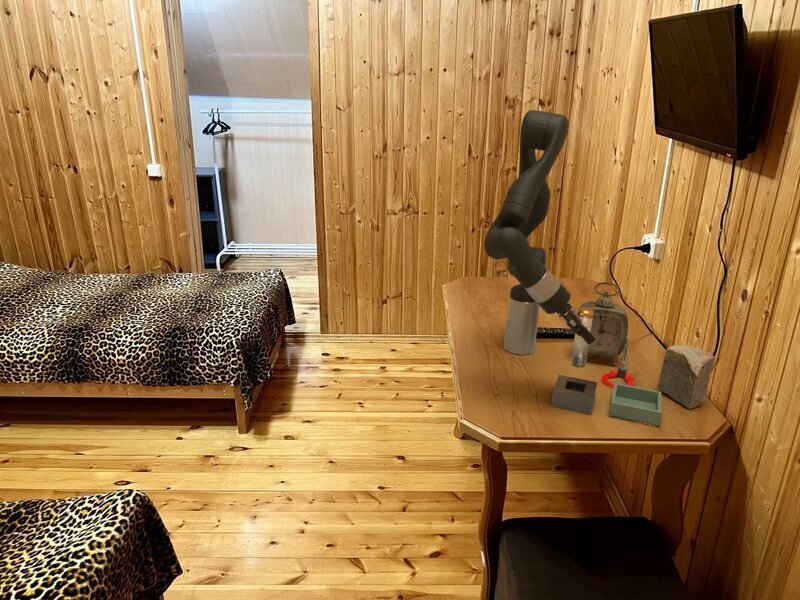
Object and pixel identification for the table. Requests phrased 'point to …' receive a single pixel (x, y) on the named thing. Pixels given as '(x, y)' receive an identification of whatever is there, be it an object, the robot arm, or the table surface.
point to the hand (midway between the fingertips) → (589, 338)
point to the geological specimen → (686, 374)
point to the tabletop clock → (607, 325)
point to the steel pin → (579, 343)
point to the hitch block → (574, 394)
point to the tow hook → (620, 369)
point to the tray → (636, 404)
